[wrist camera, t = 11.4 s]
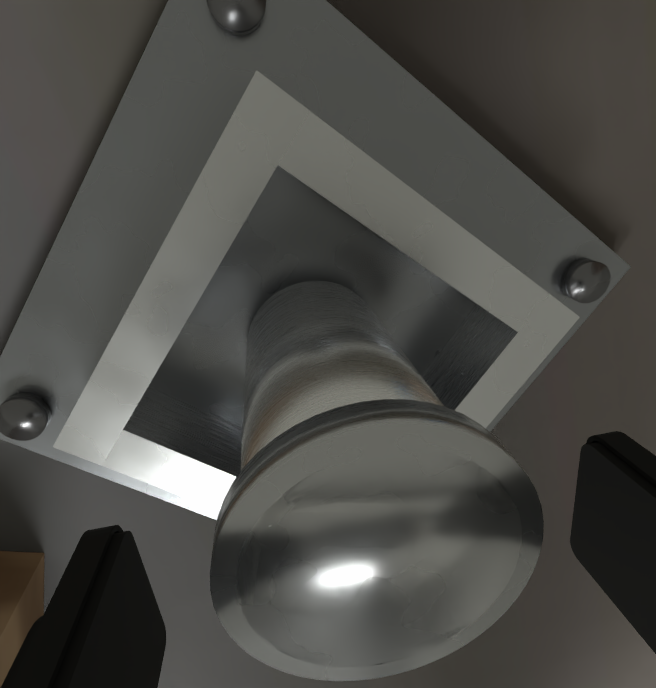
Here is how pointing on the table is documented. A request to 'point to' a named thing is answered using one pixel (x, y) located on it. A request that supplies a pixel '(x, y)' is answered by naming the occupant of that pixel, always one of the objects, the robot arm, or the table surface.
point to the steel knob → (361, 503)
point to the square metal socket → (279, 246)
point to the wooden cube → (18, 602)
